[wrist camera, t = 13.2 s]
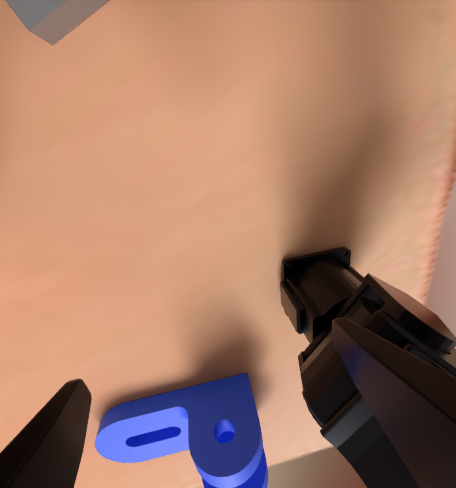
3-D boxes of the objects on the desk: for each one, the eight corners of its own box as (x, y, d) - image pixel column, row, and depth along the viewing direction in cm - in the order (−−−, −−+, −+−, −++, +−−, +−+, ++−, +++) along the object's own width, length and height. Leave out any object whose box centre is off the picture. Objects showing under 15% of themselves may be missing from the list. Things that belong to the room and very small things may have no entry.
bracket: (246, 371, 29) (270, 465, 21) (254, 413, 33) (276, 507, 25) (89, 409, 28) (50, 524, 20) (115, 449, 32) (91, 560, 23)
